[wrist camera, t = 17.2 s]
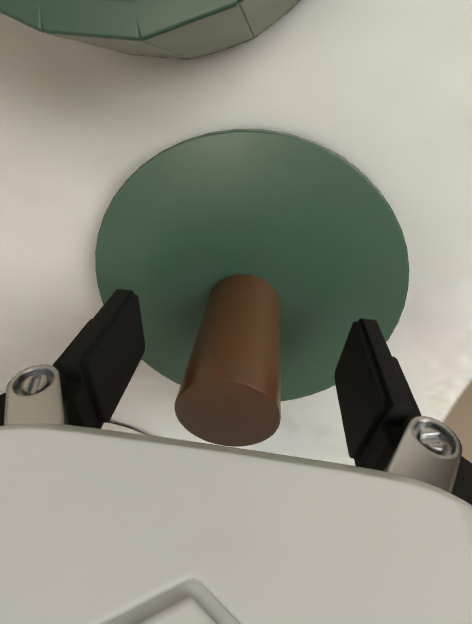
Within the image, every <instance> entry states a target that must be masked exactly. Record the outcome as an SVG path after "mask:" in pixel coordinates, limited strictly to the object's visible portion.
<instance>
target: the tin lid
mask: <svg viewBox="0 0 472 624" xmlns="http://www.w3.org/2000/svg"><path fill="white" fill-rule="evenodd" d="M96 276H97V283H98V288H99V292H100V295H101V298H102V302H103V304H105V303H106V302H107V300H108V299H109V298H110V297H111V296H112V294H113V293H114V292H115V291H116V290H117V289H126V290H132V291H133V292H134V294H137V295H138V297H139V304H140V311H141V318H142V326H143V333H144V340H145V351H144V354H143V356H142V358H141V359H142V360H144V361H145V362H146V363H147V364H148V365H149V366H151V367H152V368H153V369H155V370H156V371H158V372H159V373H161V374H162V375H164V376H165V377H167V378H169V379H170V380H172V381H174V382H176V383H178V384H180V385H181V386H180V389H179V392H178V395H177V398H176V401H175V412H176V416H177V418H178V420H179V421H180V423H181V424H182V425H183V426H184V427H185V428H186V429H187V430H188V431H189V432H190V433H192V434H193V435H195V436H197V437H199V438H201V439H203V440H205V441H208V442H211V443H214V444H218V445H224V446H248V445H253V444H256V443H260V442H262V441H264V440H266V439H268V438H269V437H270V436H272V435H273V434H274V433H275V432H276V430H277V428H278V427H279V424H280V419H281V401H286V400H292V399H297V398H301V397H305V396H308V395H312V394H315V393H317V392H320V391H323V390H325V389H328V388H330V387H332V386H334V385H336V384H335V378H334V375H335V369H336V367H337V364H338V361H339V359H340V356H341V353H342V350H343V348H344V345H345V342H346V340H347V337H348V334H349V332H350V329H351V326H352V324H353V322H354V321H357V322H358V320H359V319H360V318H364V319H372V320H376V321H377V322H378V325H379V327H380V329H381V332H382V334H383V337H384V339H385V341H386V342H387V340H388V339H389V337H390V336H391V334H392V332H393V330H394V329H395V327H396V325H397V323H398V321H399V318H400V316H401V313H402V311H403V308H404V305H405V300H406V296H407V291H408V282H409V262H408V253H407V247H406V243H405V240H404V236H403V233H402V229H401V227H400V225H399V223H398V221H397V219H396V217H395V214H394V212H393V210H392V208H391V207H390V205H389V204H388V203H387V201H386V200H385V198H384V197H383V196H382V194H381V193H380V191H379V190H378V189H377V188H376V187H375V186H374V185H373V184H372V183H371V182H370V181H369V180H368V179H367V177H366V176H365V175H364V174H363V173H362V172H361V171H360V170H359V169H357V168H356V167H355V166H353V165H352V164H350V163H349V162H348V161H346V160H345V159H344V158H342V157H341V156H339V155H338V154H336V153H334V152H332V151H330V150H329V149H327V148H325V147H323V146H321V145H319V144H317V143H315V142H312V141H309V140H306V139H303V138H300V137H297V136H294V135H291V134H286V133H281V132H275V131H269V130H262V129H233V130H226V131H219V132H211V133H208V134H204V135H201V136H197V137H194V138H191V139H187V140H185V141H183V142H181V143H179V144H177V145H174V146H172V147H170V148H168V149H166V150H164V151H162V152H160V153H159V154H158V155H156V156H155V157H153V158H152V159H150V160H149V161H147V162H146V163H145V164H143V165H142V166H141V167H140V168H139V169H138V170H137V171H136V172H135V173H133V174H132V175H131V176H130V177H129V178H128V179H127V180H126V181H125V183H124V184H123V185H122V187H121V188H120V189H119V191H118V192H117V193H116V195H115V196H114V198H113V199H112V201H111V203H110V205H109V207H108V209H107V211H106V213H105V215H104V218H103V221H102V224H101V227H100V230H99V233H98V240H97V246H96Z"/></svg>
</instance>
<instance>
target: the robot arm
mask: <svg viewBox="0 0 472 624" xmlns="http://www.w3.org/2000/svg"><path fill="white" fill-rule="evenodd" d="M144 351H145V340H144V333H143V326H142V318H141V311H140V304H139V297H138V295H137V294H134V292H133V291H132V290H126V289H117V290H116V291H115V292H114V293H113V294H112V296H111V297H110V298H109V299H108V300H107V302H106V303H105V304H104V305H103V307H102V308H101V309H100V310H99V312H98V313H97V314H96V315H95V317H94V318H93V319H91V320H90V321H89V322H88V323H87V324H86V325H85V326H84V328H83V329H82V330H81V331H80V332H79V334H78V335H77V336H76V337H75V339H74V340H73V341H72V342H71V343H70V345H69V346H68V347H67V348H66V350H65V351H64V352H63V353H62V354H61V356H60V357H59V358H58V359H57V361H56V362H55V363H54V364H53V365H52V366H50V365H36V366H32V367H29V368H26V369H24V370H22V371H20V372H19V373H17V374H16V375H15V376H14V377H12V379H11V380H10V381H9V383H8V385H7V388H6V393H3V394H1V395H0V624H472V463H470V462H469V461H468V460H466V459H465V458H464V457H462V456H461V455H462V445H461V443H460V440H459V439H458V438H457V436H456V434H455V433H454V432H453V431H452V430H451V429H450V428H449V427H448V426H446V425H445V424H443V423H442V422H440V421H438V420H436V419H434V418H431V417H426V416H422V415H421V413H420V411H419V409H418V406H417V404H416V402H415V399H414V397H413V395H412V392H411V390H410V388H409V385H408V383H407V381H406V379H405V376H404V374H403V372H402V369H401V367H400V365H399V362H398V361H397V359H396V358H395V357H392V356H391V353H390V351H389V349H388V346H387V344H386V341H385V339H384V337H383V334H382V332H381V329H380V327H379V325H378V322H377V321H376V320H372V319H364V318H360V319H359V320H358V322H357V321H354V322H353V324H352V326H351V329H350V332H349V334H348V337H347V340H346V342H345V345H344V348H343V350H342V353H341V356H340V359H339V361H338V364H337V367H336V369H335V375H334V378H335V384H336V389H337V394H338V400H339V405H340V410H341V416H342V421H343V426H344V431H345V437H346V442H347V447H348V453H349V456H350V458H354V460H355V465H356V466H350V465H344V464H338V463H332V462H326V461H319V460H313V459H306V458H299V457H293V456H286V455H280V454H273V453H266V452H260V451H253V450H246V449H239V448H232V447H225V446H219V445H212V444H205V443H198V442H191V441H184V440H177V439H170V438H163V437H156V436H149V435H145V434H143V433H140V432H138V431H135V430H133V429H130V428H127V427H124V426H120V425H116V424H113V423H107V422H109V420H110V419H111V417H112V415H113V413H114V411H115V409H116V407H117V405H118V403H119V401H120V399H121V397H122V395H123V393H124V391H125V389H126V387H127V385H128V383H129V382H130V380H131V378H132V376H133V374H134V372H135V370H136V368H137V366H138V364H139V362H140V360H141V358H142V356H143V354H144Z"/></svg>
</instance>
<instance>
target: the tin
mask: <svg viewBox="0 0 472 624" xmlns="http://www.w3.org/2000/svg"><path fill="white" fill-rule="evenodd" d="M299 1H300V0H0V13H2V14H4V15H7V16H9V17H11V18H13V19H15V20H17V21H19V22H21V23H23V24H25V25H27V26H29V27H31V28H33V29H35V30H38V31H40V32H43V33H47V34H50V35H54V36H58V37H62V38H66V39H70V40H74V41H78V42H82V43H86V44H90V45H94V46H99V47H103V48H107V49H111V50H115V51H119V52H123V53H127V54H131V55H143V56H155V57H162V58H180V59H191V58H192V59H194V58H197V57H200V56H203V55H206V54H212V53H216V52H218V51H221V50H224V49H227V48H230V47H232V46H235V45H238V44H240V43H242V42H244V41H247V40H250V39H252V38H253V37H255V36H257V35H258V34H260V33H261V32H262V31H264V30H265V29H266V28H268V27H269V26H270V25H272V24H273V23H274V22H276V21H277V20H278V19H279V18H281V17H282V16H283V15H285V14H286V13H287V12H289V11H290V10H291V9H292V8H293V7H294V6H295V5H296V4H297V3H298V2H299Z"/></svg>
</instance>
